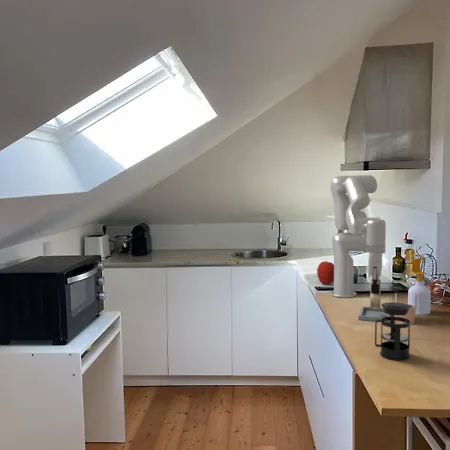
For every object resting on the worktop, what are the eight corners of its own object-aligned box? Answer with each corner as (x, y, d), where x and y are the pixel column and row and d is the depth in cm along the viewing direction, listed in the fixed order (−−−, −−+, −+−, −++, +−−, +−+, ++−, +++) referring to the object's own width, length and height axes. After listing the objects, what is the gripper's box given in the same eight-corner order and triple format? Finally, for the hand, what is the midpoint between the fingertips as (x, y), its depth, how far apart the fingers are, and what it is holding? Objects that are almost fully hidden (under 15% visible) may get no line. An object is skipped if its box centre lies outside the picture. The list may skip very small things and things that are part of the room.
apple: (316, 285, 267) (316, 260, 266) (318, 282, 277) (318, 257, 276) (335, 286, 264) (335, 261, 263) (336, 282, 274) (336, 258, 273)
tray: (361, 311, 214) (361, 306, 214) (390, 314, 210) (390, 308, 210) (358, 322, 199) (358, 316, 199) (389, 324, 195) (389, 318, 195)
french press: (409, 351, 165) (410, 284, 163) (414, 361, 156) (416, 291, 154) (373, 349, 167) (374, 283, 165) (376, 359, 158) (377, 290, 156)
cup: (396, 320, 201) (396, 303, 200) (414, 321, 199) (414, 304, 198) (396, 324, 195) (396, 307, 194) (414, 326, 192) (414, 309, 191)
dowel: (370, 306, 206) (370, 278, 205) (380, 307, 205) (380, 279, 204) (370, 308, 203) (370, 280, 202) (380, 309, 201) (380, 281, 200)
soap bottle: (416, 317, 205) (418, 259, 203) (403, 311, 214) (404, 256, 211) (435, 315, 207) (436, 258, 205) (421, 309, 216) (422, 255, 214)
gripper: (368, 246, 211) (367, 287, 212) (364, 251, 195) (364, 296, 197) (386, 246, 208) (385, 288, 210) (384, 252, 193) (383, 297, 194)
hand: (375, 291), depth 203 cm, fingers closed on dowel, 4 cm apart
